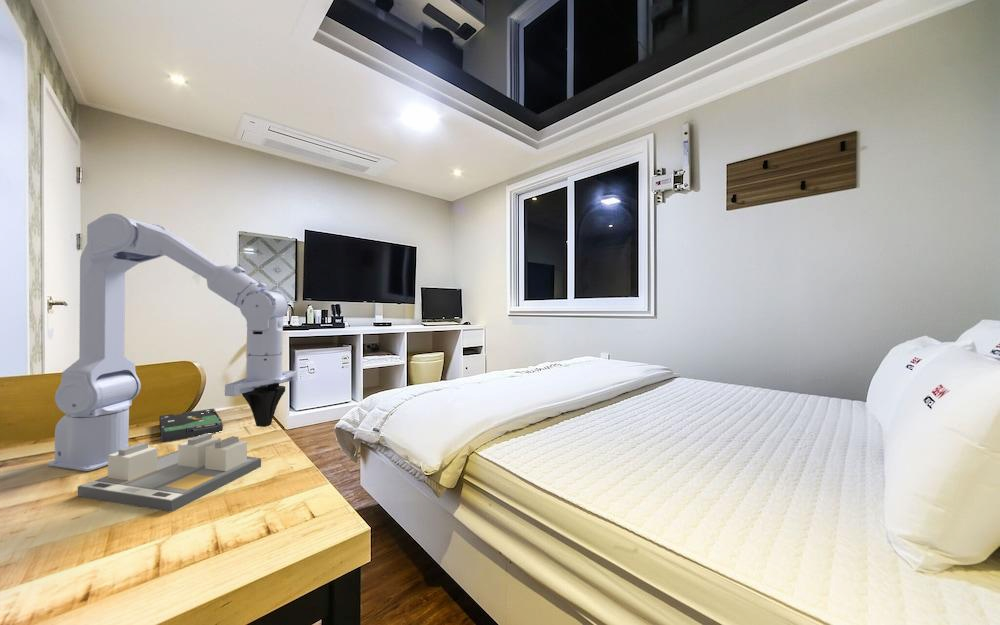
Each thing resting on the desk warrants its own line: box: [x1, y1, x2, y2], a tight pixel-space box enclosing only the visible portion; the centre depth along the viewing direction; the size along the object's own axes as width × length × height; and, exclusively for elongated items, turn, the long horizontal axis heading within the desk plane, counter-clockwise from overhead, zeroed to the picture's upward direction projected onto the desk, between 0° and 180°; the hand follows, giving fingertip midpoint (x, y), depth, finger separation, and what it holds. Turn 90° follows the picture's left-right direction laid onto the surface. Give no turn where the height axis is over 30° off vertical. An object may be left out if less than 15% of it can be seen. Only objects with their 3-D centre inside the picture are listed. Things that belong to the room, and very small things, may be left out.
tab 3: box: [205, 435, 248, 471], centre depth 62 cm, size 4×4×4 cm
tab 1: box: [107, 442, 159, 481], centre depth 58 cm, size 4×4×4 cm
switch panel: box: [77, 450, 262, 513], centre depth 60 cm, size 17×15×2 cm
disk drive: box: [158, 408, 224, 443], centre depth 84 cm, size 10×3×15 cm
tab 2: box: [177, 433, 222, 468], centre depth 63 cm, size 4×4×4 cm
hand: (263, 425), depth 69 cm, fingers closed
